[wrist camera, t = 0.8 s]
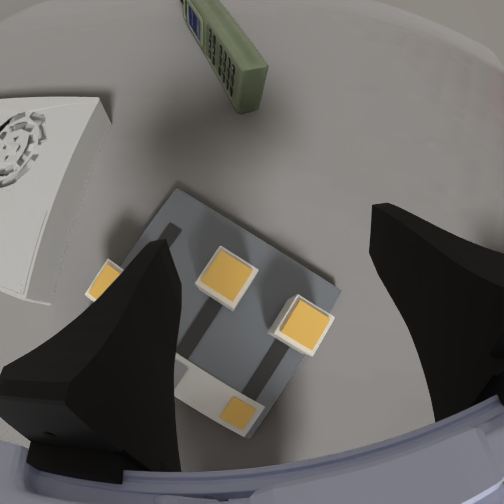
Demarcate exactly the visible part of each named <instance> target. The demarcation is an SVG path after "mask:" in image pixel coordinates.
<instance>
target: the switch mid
mask: <svg viewBox="0 0 504 504" xmlns="http://www.w3.org/2000/svg"><path fill="white" fill-rule="evenodd" d="M258 271H259V270H258V269H257V268H255V267H254V266H252V265H250V264H249V263H247V262H246V261H244V260H243V259H241V258H239V257H238V256H236V255H235V254H233V253H231V252H230V251H228V250H227V249H225V248H224V247H222V246H220V247H219V248H218V249H217V251H216V252H215V254H214V255H213V257H212V258H211V260H210V261H209V263H208V264H207V266H206V267H205V269H204V270H203V272H202V273H201V275H200V276H199V278H198V279H197V281H196V282H195V284H196V286H197V287H198V289H199V290H200V291H202V292H203V293H205V294H206V295H208V296H209V297H211V298H213V299H214V300H216V301H217V302H219V303H220V304H222V305H223V306H225V307H227V308H228V309H230V310H231V311H234V309H235V308H236V306H237V305H238V303H239V302H240V300H241V298H242V297H243V295H244V294H245V292H246V291H247V289H248V287H249V286H250V284H251V283H252V281H253V280H254V278H255V276H256V274H257V272H258Z"/></svg>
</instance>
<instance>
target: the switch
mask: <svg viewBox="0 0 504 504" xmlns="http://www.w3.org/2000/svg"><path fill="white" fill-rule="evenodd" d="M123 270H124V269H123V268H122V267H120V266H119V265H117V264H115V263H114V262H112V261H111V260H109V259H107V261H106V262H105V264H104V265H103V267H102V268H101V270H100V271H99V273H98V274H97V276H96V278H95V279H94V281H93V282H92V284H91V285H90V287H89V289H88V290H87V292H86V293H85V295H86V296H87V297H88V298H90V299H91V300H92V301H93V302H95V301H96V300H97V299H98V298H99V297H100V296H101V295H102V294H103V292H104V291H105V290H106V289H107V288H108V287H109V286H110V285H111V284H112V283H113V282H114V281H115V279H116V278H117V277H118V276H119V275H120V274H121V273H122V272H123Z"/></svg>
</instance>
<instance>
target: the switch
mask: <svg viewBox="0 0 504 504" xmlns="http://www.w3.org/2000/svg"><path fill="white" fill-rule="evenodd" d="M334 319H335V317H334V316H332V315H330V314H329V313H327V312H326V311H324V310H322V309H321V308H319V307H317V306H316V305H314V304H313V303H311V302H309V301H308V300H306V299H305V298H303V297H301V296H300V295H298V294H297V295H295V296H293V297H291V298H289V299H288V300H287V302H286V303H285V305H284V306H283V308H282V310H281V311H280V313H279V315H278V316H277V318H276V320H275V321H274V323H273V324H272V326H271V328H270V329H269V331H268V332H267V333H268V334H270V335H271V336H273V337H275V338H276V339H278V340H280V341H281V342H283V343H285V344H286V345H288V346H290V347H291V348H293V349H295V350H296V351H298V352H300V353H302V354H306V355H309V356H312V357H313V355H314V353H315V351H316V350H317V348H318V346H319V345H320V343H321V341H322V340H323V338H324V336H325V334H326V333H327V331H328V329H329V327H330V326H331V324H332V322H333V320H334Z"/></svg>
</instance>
